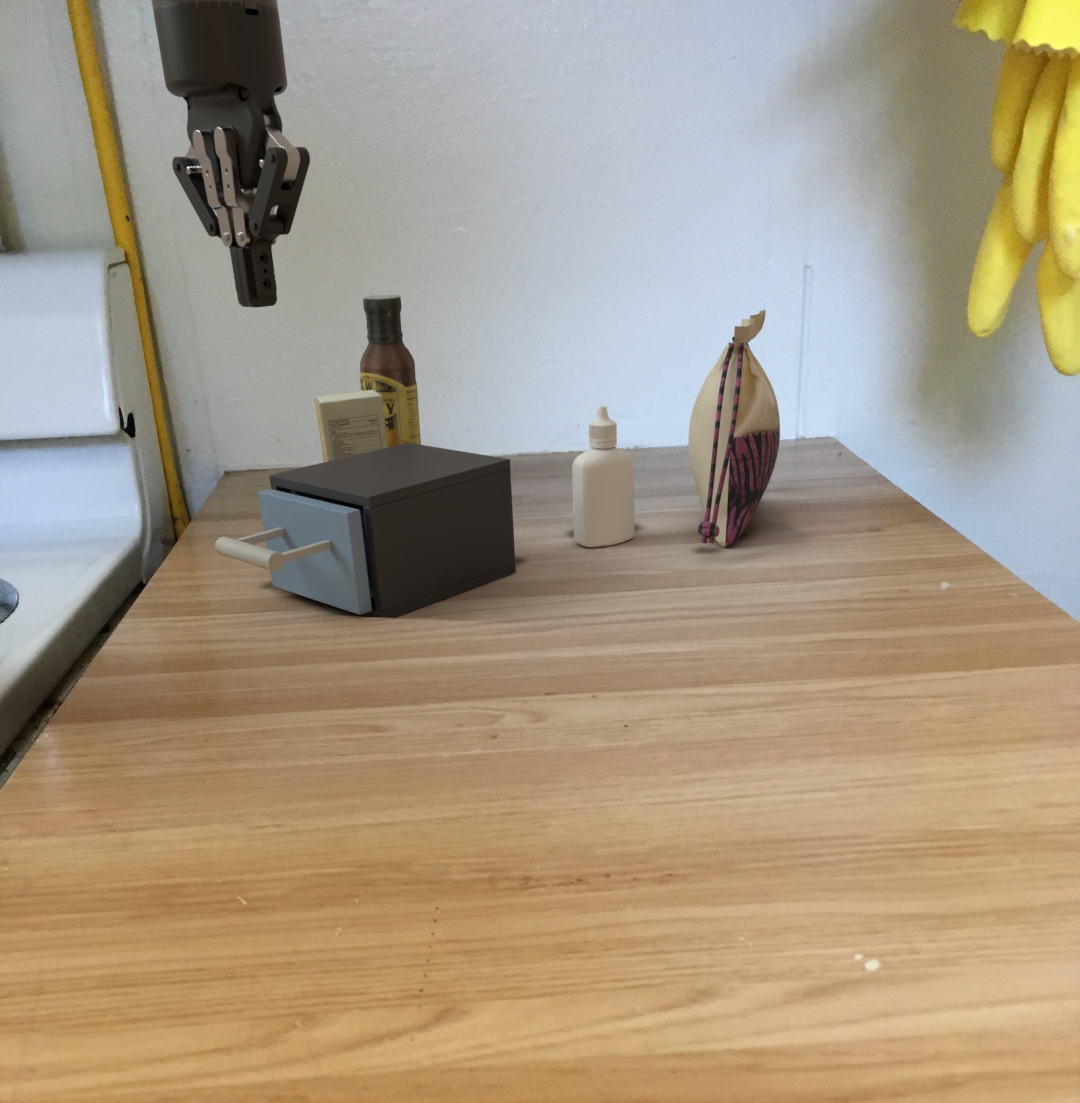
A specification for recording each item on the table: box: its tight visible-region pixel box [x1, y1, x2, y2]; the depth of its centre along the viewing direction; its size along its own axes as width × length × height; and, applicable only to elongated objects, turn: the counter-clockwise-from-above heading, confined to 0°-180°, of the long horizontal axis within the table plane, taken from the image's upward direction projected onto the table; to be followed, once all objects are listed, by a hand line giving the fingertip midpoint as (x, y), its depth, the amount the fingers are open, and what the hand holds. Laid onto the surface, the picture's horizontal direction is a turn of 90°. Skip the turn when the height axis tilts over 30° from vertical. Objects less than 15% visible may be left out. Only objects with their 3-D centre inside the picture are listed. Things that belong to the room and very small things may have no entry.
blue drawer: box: [214, 488, 375, 616], centre depth 84 cm, size 19×11×8 cm, turn 137°
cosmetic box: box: [313, 390, 388, 463], centre depth 106 cm, size 6×4×12 cm
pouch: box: [688, 309, 781, 548], centre depth 97 cm, size 25×8×19 cm, turn 168°
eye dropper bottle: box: [571, 405, 636, 548], centre depth 95 cm, size 4×6×12 cm
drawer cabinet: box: [268, 443, 517, 619], centre depth 87 cm, size 15×13×10 cm
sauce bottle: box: [359, 294, 422, 447], centre depth 118 cm, size 6×6×20 cm
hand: (258, 305), depth 73 cm, fingers closed
